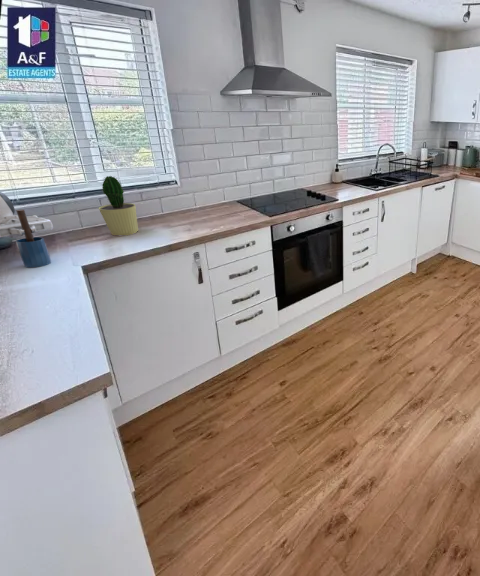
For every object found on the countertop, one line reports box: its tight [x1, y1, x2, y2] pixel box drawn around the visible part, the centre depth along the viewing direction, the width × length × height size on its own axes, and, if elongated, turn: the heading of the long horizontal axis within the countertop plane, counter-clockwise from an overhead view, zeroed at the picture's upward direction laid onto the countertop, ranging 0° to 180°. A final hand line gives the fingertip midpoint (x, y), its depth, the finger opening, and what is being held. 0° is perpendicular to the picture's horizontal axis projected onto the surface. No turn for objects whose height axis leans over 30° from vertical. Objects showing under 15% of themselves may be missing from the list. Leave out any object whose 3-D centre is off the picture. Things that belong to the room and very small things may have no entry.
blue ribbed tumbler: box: [15, 236, 52, 268], centre depth 145 cm, size 8×8×10 cm
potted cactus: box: [98, 174, 139, 236], centre depth 184 cm, size 15×15×30 cm
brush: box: [15, 209, 34, 242], centre depth 142 cm, size 4×4×20 cm
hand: (28, 231), depth 141 cm, fingers closed on brush, 2 cm apart
